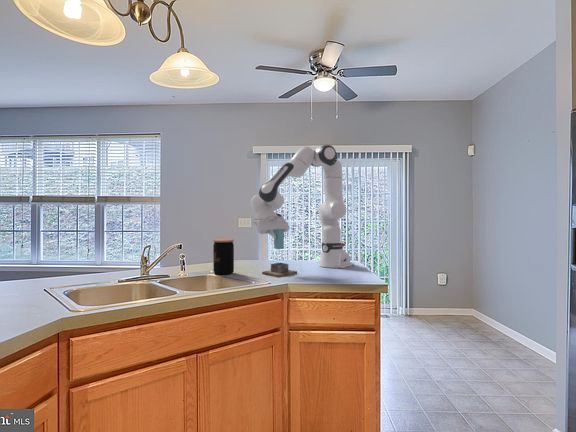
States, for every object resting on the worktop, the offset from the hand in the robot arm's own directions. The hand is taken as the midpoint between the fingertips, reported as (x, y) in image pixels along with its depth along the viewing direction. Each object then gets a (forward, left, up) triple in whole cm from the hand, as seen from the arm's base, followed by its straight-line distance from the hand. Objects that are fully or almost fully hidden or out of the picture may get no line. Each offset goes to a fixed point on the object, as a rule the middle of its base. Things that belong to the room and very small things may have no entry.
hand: (279, 237), depth 176 cm
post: (0, -1, -6) cm, 6 cm away
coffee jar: (+21, -21, -19) cm, 36 cm away
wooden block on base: (0, 0, -19) cm, 19 cm away
